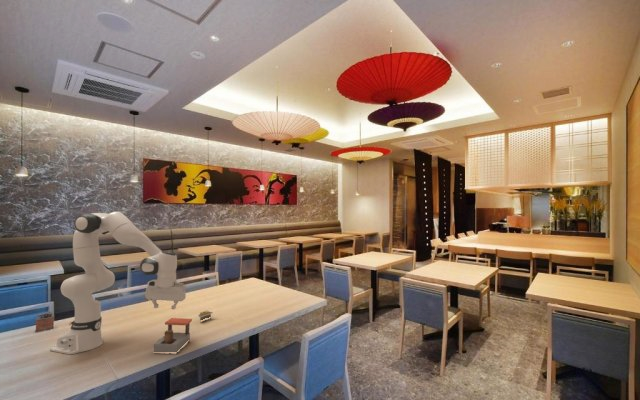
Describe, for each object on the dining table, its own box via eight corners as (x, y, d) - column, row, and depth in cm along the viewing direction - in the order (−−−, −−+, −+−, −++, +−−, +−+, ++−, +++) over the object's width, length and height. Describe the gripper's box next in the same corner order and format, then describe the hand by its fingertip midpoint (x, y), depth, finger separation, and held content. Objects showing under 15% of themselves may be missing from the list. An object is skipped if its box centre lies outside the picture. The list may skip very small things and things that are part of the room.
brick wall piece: (53, 327, 177) (54, 310, 177) (53, 329, 174) (54, 312, 175) (35, 330, 171) (36, 313, 172) (35, 332, 169) (36, 315, 169)
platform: (186, 323, 188) (187, 313, 188) (210, 315, 203) (210, 306, 203) (197, 328, 181) (198, 317, 182) (221, 319, 196) (221, 309, 197)
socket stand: (153, 353, 148) (154, 329, 148) (170, 339, 164) (171, 318, 164) (176, 354, 147) (177, 330, 148) (191, 340, 163) (192, 318, 164)
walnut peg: (166, 348, 153) (167, 329, 153) (173, 349, 153) (174, 330, 153) (162, 352, 149) (162, 333, 149) (169, 352, 149) (170, 333, 149)
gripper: (188, 281, 155) (187, 307, 154) (151, 279, 155) (149, 305, 155) (182, 284, 148) (180, 311, 148) (144, 282, 149) (142, 309, 149)
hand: (164, 308), depth 152 cm, fingers open, 8 cm apart
